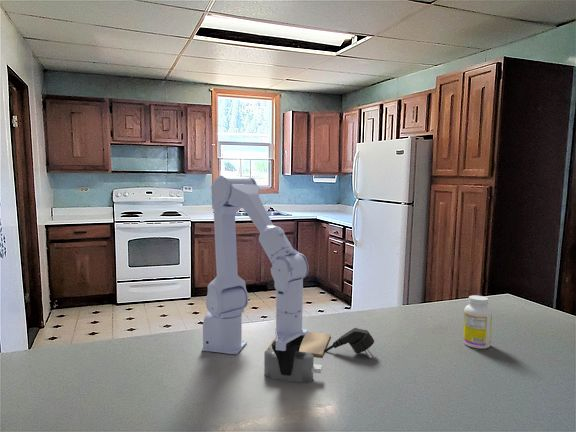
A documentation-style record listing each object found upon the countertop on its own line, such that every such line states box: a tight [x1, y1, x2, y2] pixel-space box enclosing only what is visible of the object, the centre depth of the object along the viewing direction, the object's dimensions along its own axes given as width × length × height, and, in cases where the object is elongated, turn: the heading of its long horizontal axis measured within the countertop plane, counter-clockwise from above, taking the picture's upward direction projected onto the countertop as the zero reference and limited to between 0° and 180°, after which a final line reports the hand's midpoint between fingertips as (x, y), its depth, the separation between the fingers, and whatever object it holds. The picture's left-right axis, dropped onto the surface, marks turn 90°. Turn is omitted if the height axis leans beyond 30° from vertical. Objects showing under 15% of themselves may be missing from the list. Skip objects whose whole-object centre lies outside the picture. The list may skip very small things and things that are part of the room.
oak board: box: [267, 331, 331, 358], centre depth 109 cm, size 14×14×1 cm
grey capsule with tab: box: [263, 348, 323, 384], centre depth 90 cm, size 13×4×5 cm, turn 76°
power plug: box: [324, 327, 375, 359], centre depth 103 cm, size 6×8×12 cm
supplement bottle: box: [462, 294, 493, 350], centre depth 109 cm, size 7×7×13 cm
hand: (288, 369), depth 91 cm, fingers closed on grey capsule with tab, 4 cm apart
